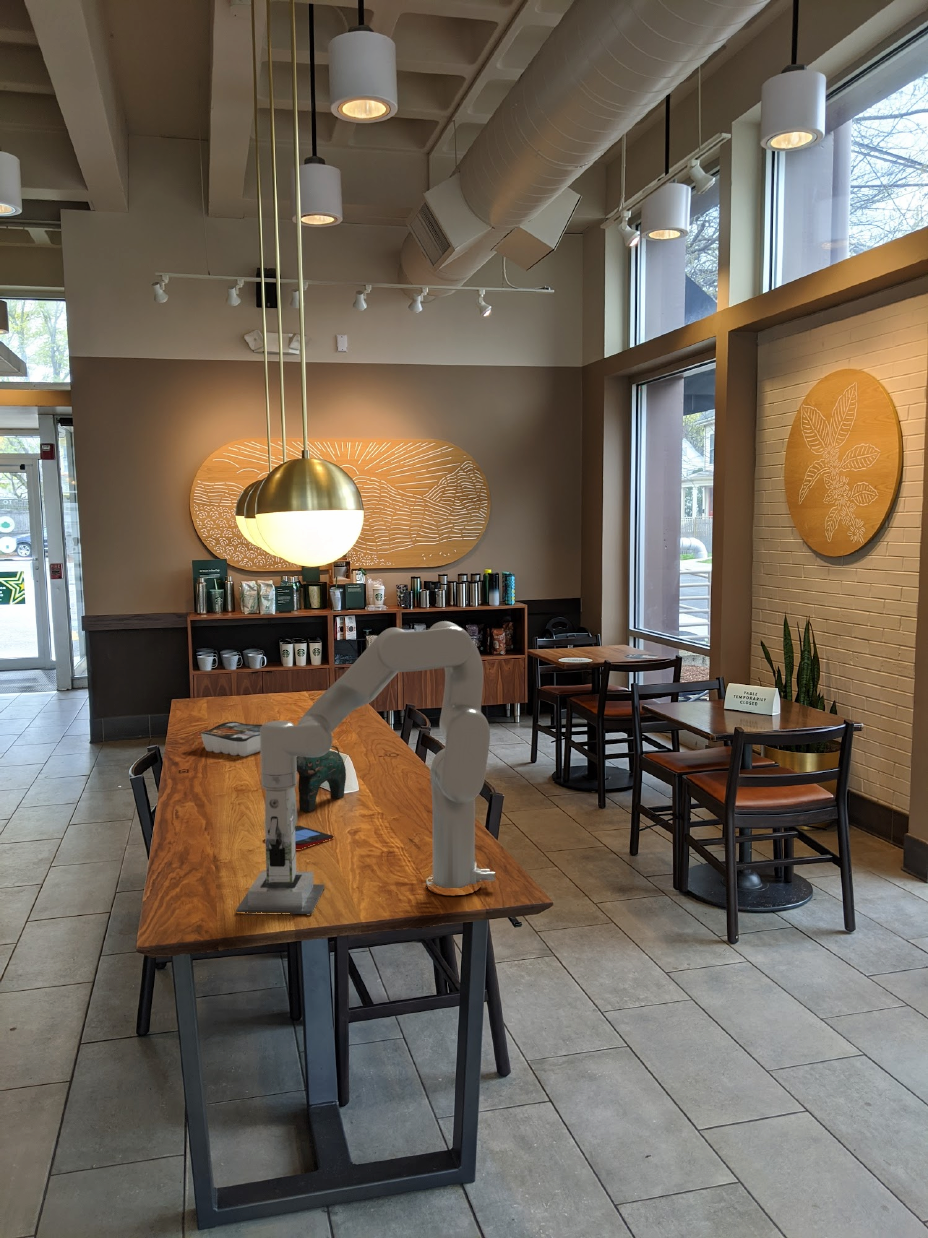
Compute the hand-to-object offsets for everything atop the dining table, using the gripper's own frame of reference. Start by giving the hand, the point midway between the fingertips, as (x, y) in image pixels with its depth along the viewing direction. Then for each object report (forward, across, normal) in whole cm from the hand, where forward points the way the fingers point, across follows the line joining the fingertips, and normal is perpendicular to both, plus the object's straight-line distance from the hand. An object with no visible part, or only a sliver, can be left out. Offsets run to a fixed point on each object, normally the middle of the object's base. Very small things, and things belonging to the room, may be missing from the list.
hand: (281, 859), depth 200 cm
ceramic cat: (+10, +70, +5) cm, 70 cm away
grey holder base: (+9, 0, 0) cm, 9 cm away
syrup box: (+5, 0, 0) cm, 5 cm away
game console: (+10, +40, +5) cm, 41 cm away
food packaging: (+10, +135, +47) cm, 143 cm away
